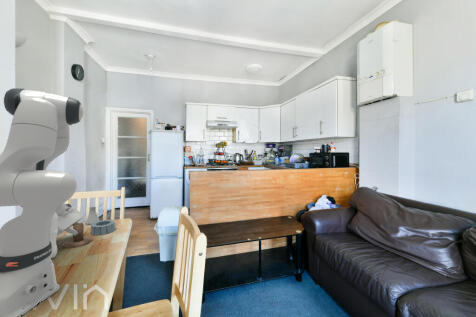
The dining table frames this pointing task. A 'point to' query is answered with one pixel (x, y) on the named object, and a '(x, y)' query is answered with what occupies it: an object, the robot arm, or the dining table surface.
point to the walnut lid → (78, 237)
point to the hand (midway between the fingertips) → (79, 231)
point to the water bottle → (54, 234)
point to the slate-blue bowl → (102, 227)
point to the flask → (92, 216)
